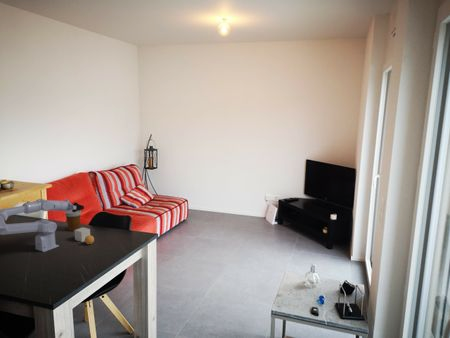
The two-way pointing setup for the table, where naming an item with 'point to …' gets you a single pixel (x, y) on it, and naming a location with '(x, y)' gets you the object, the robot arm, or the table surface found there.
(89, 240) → the ball
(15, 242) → the table surface
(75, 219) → the disposable coffee cup
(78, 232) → the pale grey cube
